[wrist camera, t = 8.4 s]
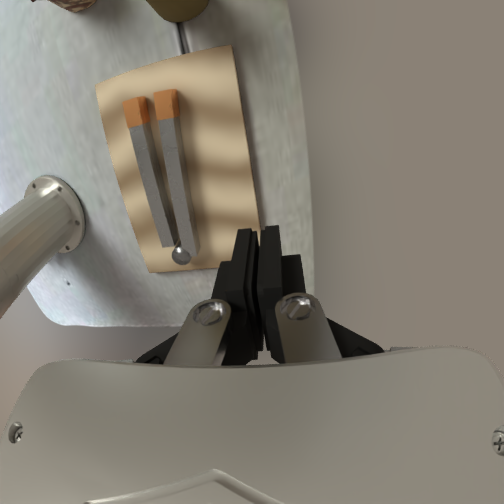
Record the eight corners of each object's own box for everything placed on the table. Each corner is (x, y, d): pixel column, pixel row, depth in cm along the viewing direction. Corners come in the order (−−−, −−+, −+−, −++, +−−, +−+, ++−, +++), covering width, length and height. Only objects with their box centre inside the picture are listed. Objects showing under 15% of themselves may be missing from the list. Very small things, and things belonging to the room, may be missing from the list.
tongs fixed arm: (180, 237, 35) (175, 246, 33) (166, 239, 35) (161, 248, 33) (145, 96, 26) (137, 96, 24) (130, 100, 26) (122, 101, 24)
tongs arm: (203, 255, 36) (199, 265, 34) (178, 256, 36) (173, 265, 34) (176, 88, 25) (170, 89, 23) (147, 94, 25) (139, 95, 24)
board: (264, 258, 37) (264, 263, 36) (152, 267, 39) (149, 272, 38) (232, 46, 24) (230, 44, 23) (100, 84, 26) (94, 84, 25)
